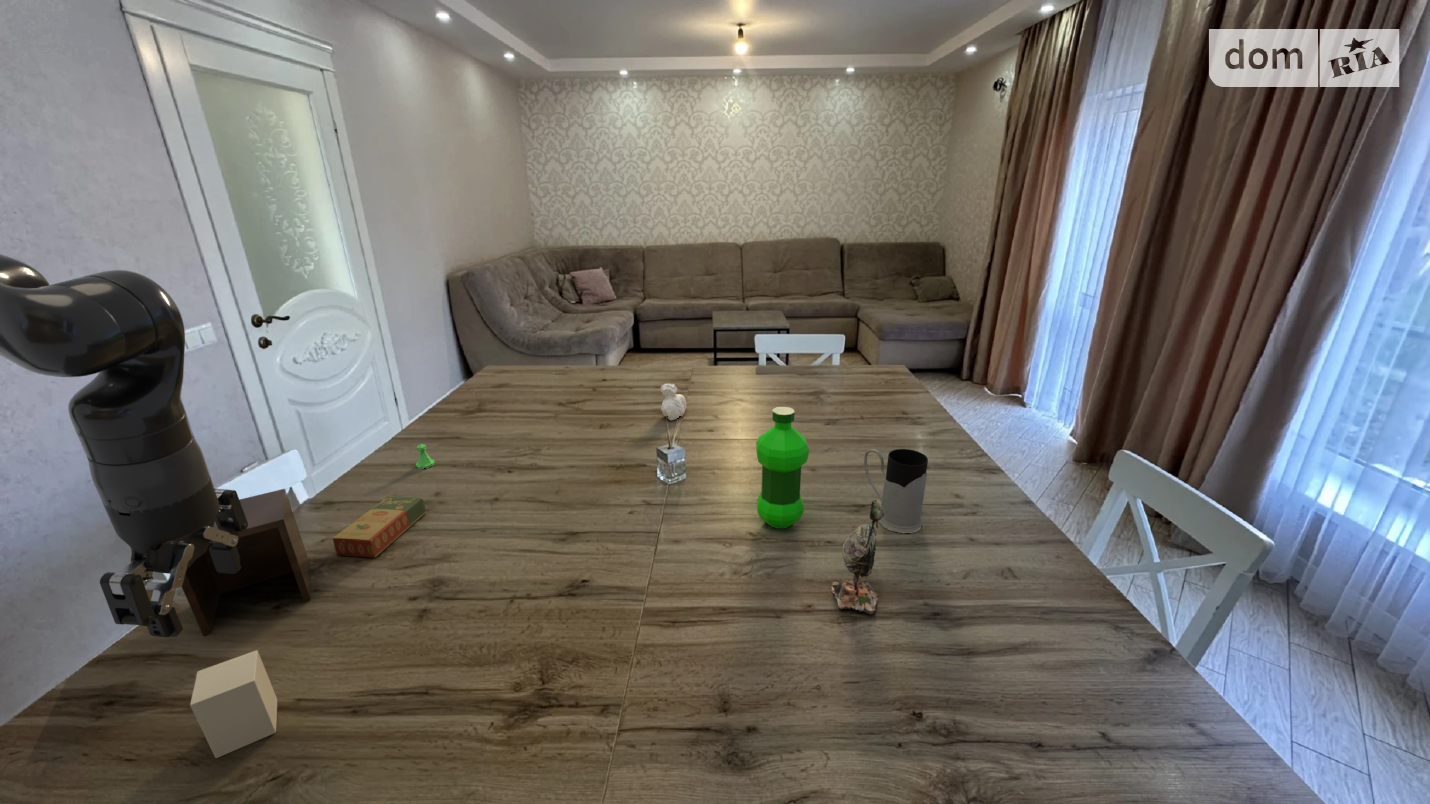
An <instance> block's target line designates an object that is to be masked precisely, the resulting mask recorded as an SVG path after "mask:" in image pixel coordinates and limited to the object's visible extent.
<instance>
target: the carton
mask: <svg viewBox="0 0 1430 804" xmlns="http://www.w3.org/2000/svg"><path fill="white" fill-rule="evenodd" d="M426 514H427V509H426V505H425V502H424V499H423V497H421V496H420V497H419V496H418V497H417V496H415V497H414V496H395V495H388V496H386V497H385V498H383V499H382V500H381V501H380V502H378V503H377V504H376V505H374V506H373V507H372V508H370V509H368V511H366V512H365V513H364V514H362V515H360V517H358V518H357V519H356V520H354V521H353V522H352V523H350V524H349V525H348V526H347V527H345V528H344V529H342V530H341V531H340V532H339V533H337V534H336V535H335V536H333V537H332V542H333V547H334V550H335V554H336V555H337V556H345V557H346V556H347V557H359V558H360V557H361V558H373V559H374V558H377V557H378V556H379V555H380V554H381V553H382V552H383V551H384V550H386V549H387V548H388V547H389V546H390V545H391V544H392V543H394V542H395V540H397V539H398V538H399V537H400V536H401V535H402V534H404V533H405V532H406V531H407V530H409V529H410V528H411V527H412V526H413V525H414V524H416V523H417V522H418V521H419V520H421V518H423V517H424V516H425V515H426Z"/></svg>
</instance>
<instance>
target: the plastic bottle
mask: <svg viewBox="0 0 1430 804" xmlns="http://www.w3.org/2000/svg"><path fill="white" fill-rule="evenodd" d="M795 413H796V412H795V409H793V408H792V407H789V406H777V407H773V408H772V414H771V415H772V416H771V417H772V421H773V422H774V426H772V427H771V428H769V429H768V430H766V431H765V432H764V433H762V434H761V435H759V436H758V438H757V440H756V443H755V444H756V446H755V451H756V457H757V462H758V463H759V464H760V465H761V491H760V493H759V495H758V496H757V499H756V509H757V514H758V516H759V518H760V519H761V520H763V521H764V522H765V523H766V524H767V525H769V526H770V525H771V526H773V527H775V529H779V528H783V529H788V528H789V527H791V526H793V525H794V524H795V523H796V522H797V521H799V520H800V519H801V518H802V516H803V514H804V512H805V507H804V503H803V499H802V496H801V482H802V481H801V480H802V479H801V478H802V467H803V466H804V465H806V463H807V462H808V460H809V459H808V458H809V455H810V454H809V453H810V449H809V446H808V443H807V440H806V437H805V436H804V435H803V434H802V433H801V432H799V431H798V430H797V429H796V428H794V427H793V426H792V423H793V422H795ZM771 526H770V527H771ZM773 527H772V528H773ZM787 527H788V528H787Z"/></svg>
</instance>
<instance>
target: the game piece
mask: <svg viewBox="0 0 1430 804" xmlns="http://www.w3.org/2000/svg"><path fill="white" fill-rule="evenodd" d="M416 451H417V452H419V457H418V459H417V460H418V461H417V462H416V464H415V468H416V467H417V468H416V469H419V470H425V469H424V468H427V469H430V468H432V467H434V466H435V464H434V463H436V462H435V460H434V459H432V458H431V457H430V455H429V454H428V453H427V452H426V451H427V445H426V444H423V443H420V444H418V445H417V446H416ZM433 465H434V466H433ZM431 466H432V467H431ZM429 467H430V468H429Z"/></svg>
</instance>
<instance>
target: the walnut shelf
mask: <svg viewBox="0 0 1430 804" xmlns="http://www.w3.org/2000/svg"><path fill="white" fill-rule="evenodd" d="M239 500H240V503H241V506H242V508H243V511H244V514H245V516H246V519H247V522H248V527H247V529H246V530H245V531H243V532H242V531H240V532H239V534H238V535H237V536H238V543H237V544H236V547H237V550H238V553H239V556H240V566H241V569H240V570H239V571H238V572H237V573H236V574H227V573H219V572H217V571H216V569H215V566H214V563H213V560H212V557H211V554H210V551H209V548H210V547H211V546H212V545H208V547H207V551H206V552H205V553H204V554H203V555H202V556H200V557H199V558H197V559H196V560H195V561H194V562H193V564H192V565H191V566H190V567H189V568H188V569H187V570H186V573H185V577H184V581H183V585H182V587H181V589H182V591H183V593H184V595H185V598H186V600H187V602H188V605H189V608H190V609H191V612H192V614H193V616H194V618H195V621H196V623H197V625H198V628H199V630H200V632H201V634H202V636H203V637H205V636H208V635H210V634H212V633H213V627H214V623H215V618H216V613H217V608H218V602H219V598H220V595H222V594H223V595H224V594H226V593H229V592H232V591H236V590H239V589H242V588H245V587H248V586H252V585H255V584H259V583H262V582H265V581H268V580H271V579H274V578H275V579H276V578H278V577H282V576H284V575H287V574H291V573H293V575H294V578H295V581H296V583H297V584H296V585H297V587H298V590H299V593H300V596H301V599H302V601H303V603H306V602H310V601H311V600H312V592H311V591H312V590H311V589H312V588H311V563H310V560H309V556H308V554H307V551H306V547H305V545H304V541H303V538H302V535H301V533H300V529H299V527H298V524H297V520H296V518H295V517H296V516H295V514H294V511H293V508H292V505H291V502H290V500H289V497H288V493H287V490H286V488H282V489H277V490H274V491H269V492H264V493H261V494H257V495H251V496H248V497H245V498H239ZM228 518H229V517H228ZM229 520H232V518H229ZM213 528H216V529H218V527H217V525H216V522H214V527H213ZM218 530H219V529H218Z"/></svg>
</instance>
